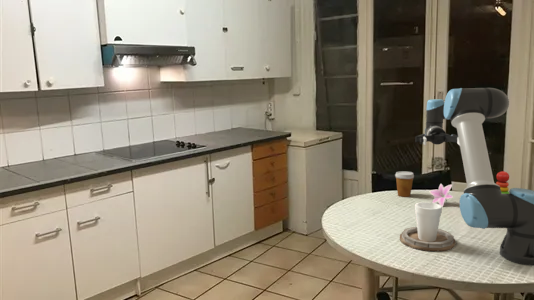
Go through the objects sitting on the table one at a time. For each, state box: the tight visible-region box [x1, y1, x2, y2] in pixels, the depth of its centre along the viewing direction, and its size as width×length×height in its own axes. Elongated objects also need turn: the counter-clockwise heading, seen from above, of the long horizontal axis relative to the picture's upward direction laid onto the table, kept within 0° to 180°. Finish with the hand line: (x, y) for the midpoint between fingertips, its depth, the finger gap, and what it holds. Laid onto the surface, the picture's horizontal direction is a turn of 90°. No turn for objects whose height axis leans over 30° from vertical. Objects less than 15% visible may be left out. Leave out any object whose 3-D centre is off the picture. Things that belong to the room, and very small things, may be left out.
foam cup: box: [414, 201, 443, 242], centre depth 164 cm, size 10×9×13 cm
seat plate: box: [399, 226, 457, 253], centre depth 165 cm, size 20×20×2 cm
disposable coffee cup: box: [394, 170, 415, 198], centre depth 226 cm, size 10×10×12 cm
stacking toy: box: [495, 170, 510, 194], centre depth 195 cm, size 8×8×19 cm
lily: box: [429, 183, 454, 208], centre depth 211 cm, size 12×12×10 cm
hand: (443, 142), depth 177 cm, fingers open, 13 cm apart
